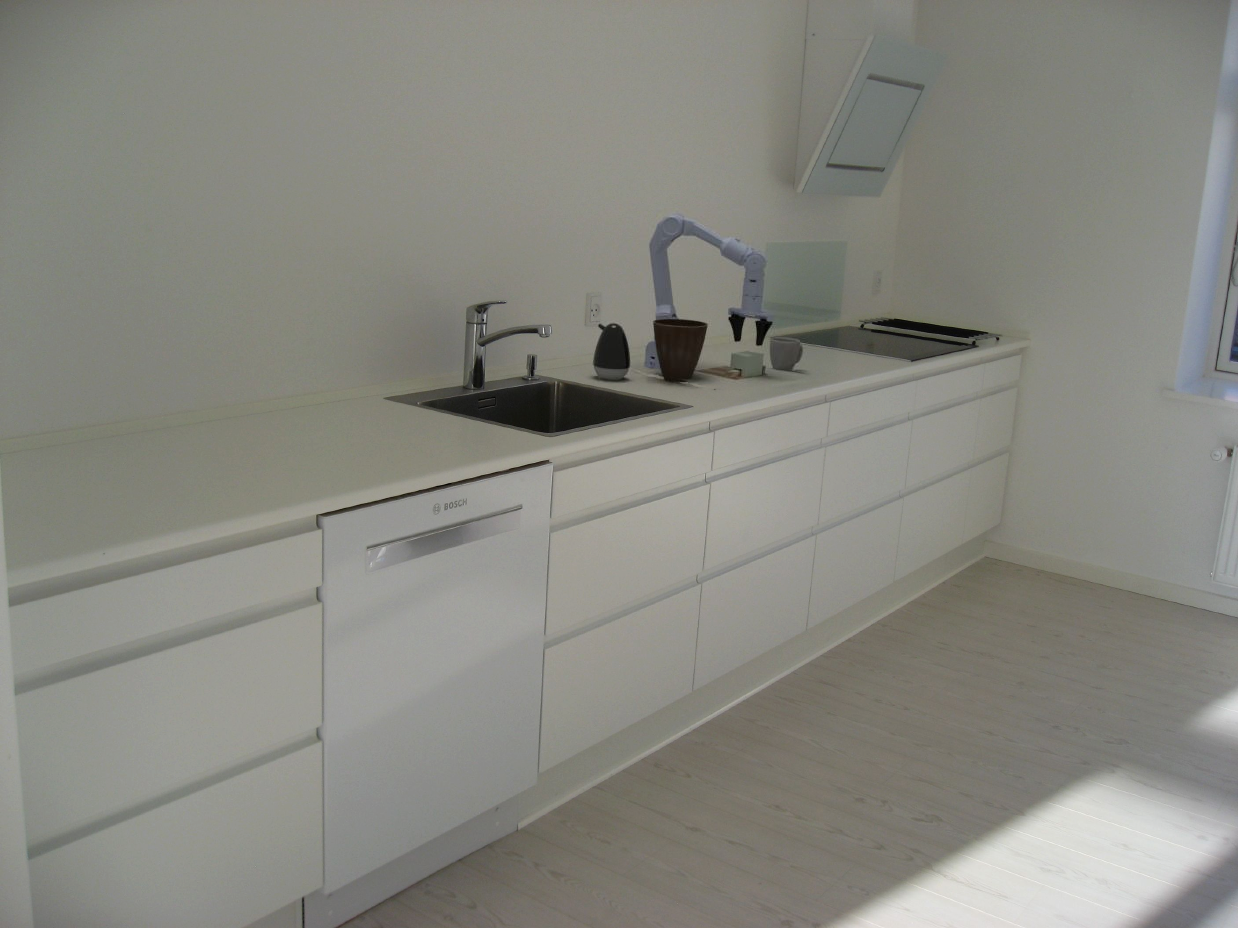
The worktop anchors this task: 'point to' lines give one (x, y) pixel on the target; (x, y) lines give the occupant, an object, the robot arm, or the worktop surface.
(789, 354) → the mug
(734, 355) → the cabinet block
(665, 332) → the plant pot
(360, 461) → the worktop surface
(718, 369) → the cleat board
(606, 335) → the pump dispenser
